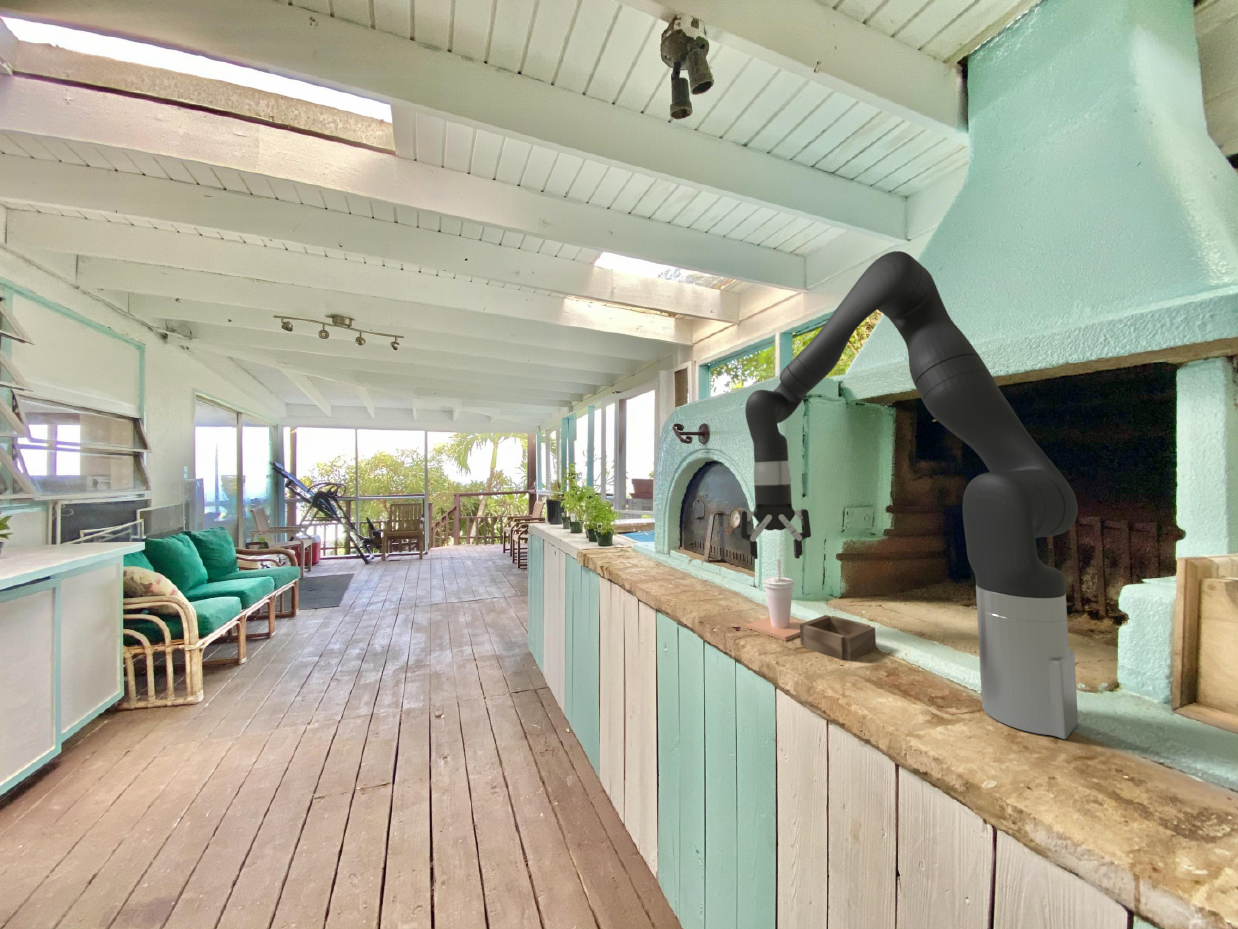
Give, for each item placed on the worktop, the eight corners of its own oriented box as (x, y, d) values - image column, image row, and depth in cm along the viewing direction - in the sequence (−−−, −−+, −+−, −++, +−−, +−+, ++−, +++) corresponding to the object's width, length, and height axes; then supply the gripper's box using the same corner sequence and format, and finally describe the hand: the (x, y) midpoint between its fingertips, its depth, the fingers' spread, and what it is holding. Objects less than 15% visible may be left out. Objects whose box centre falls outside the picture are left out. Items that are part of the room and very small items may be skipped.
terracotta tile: (815, 630, 98) (814, 626, 98) (785, 641, 92) (785, 637, 92) (775, 618, 106) (775, 615, 106) (746, 628, 101) (746, 624, 101)
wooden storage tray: (877, 648, 87) (876, 626, 87) (848, 662, 82) (847, 639, 82) (828, 633, 96) (827, 614, 96) (798, 645, 90) (797, 625, 90)
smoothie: (801, 624, 99) (798, 559, 100) (787, 632, 95) (784, 564, 95) (773, 618, 104) (770, 556, 104) (759, 626, 99) (756, 560, 100)
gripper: (803, 481, 102) (807, 555, 102) (737, 483, 105) (740, 555, 104) (810, 481, 95) (815, 561, 94) (739, 484, 97) (743, 561, 97)
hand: (776, 558), depth 99 cm, fingers open, 8 cm apart
